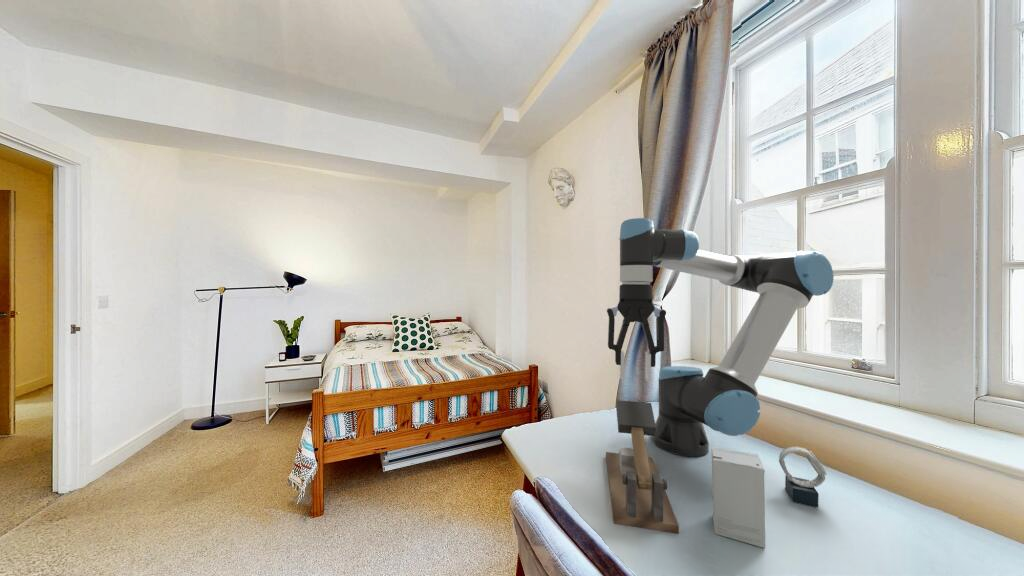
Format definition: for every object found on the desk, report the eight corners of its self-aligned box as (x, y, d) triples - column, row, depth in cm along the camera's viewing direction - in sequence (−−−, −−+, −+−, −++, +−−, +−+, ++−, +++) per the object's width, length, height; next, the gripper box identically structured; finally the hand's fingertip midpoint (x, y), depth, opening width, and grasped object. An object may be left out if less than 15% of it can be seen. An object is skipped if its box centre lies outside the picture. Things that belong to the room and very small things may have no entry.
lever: (649, 411, 83) (651, 403, 81) (665, 494, 66) (667, 486, 64) (616, 408, 84) (616, 400, 83) (623, 489, 68) (624, 480, 66)
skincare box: (760, 529, 65) (761, 454, 65) (766, 551, 60) (767, 469, 59) (710, 515, 69) (711, 444, 69) (711, 534, 64) (712, 457, 63)
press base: (652, 462, 89) (652, 429, 89) (678, 533, 64) (679, 487, 64) (605, 457, 92) (606, 424, 92) (613, 523, 66) (614, 478, 66)
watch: (830, 510, 70) (831, 459, 70) (782, 499, 74) (783, 450, 74) (819, 495, 76) (820, 447, 75) (775, 486, 79) (776, 440, 79)
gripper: (672, 283, 82) (671, 377, 83) (596, 283, 86) (595, 372, 86) (681, 283, 75) (679, 386, 75) (597, 283, 79) (596, 380, 79)
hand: (634, 378), depth 81 cm, fingers open, 5 cm apart
